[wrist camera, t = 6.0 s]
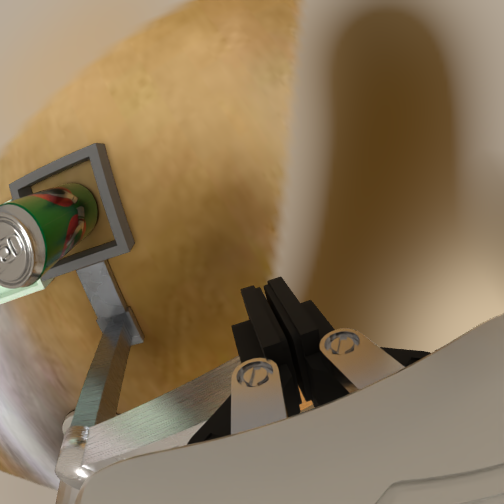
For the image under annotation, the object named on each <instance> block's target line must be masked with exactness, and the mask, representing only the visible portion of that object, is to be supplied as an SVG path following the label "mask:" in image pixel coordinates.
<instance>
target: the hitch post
mask: <svg viewBox="0 0 504 504" xmlns="http://www.w3.org/2000/svg"><path fill="white" fill-rule="evenodd" d="M76 271H77V274H78V276H79V278H80V281H81V283H82V285H83V288H84V290H85V292H86V294H87V296H88V298H89V301H90V303H91V305H92V307H93V309H94V311H95V313H96V315H97V317H98V318H97V320H96V321H97V323H98V325H99V327H100V329H101V331H102V333H103V335H102V338H101V340H100V343H99V345H98V348H97V350H96V353H95V356H94V358H93V361H92V363H91V366H90V369H89V372H88V374H87V377H86V380H85V383H84V386H83V388H82V391H81V394H80V397H79V400H78V403H77V406H76V409H75V413H74V416H73V419H72V422H71V426H85V427H89V428H90V427H92V426H95V425H97V424H99V423H102V422H104V421H107V420H109V419H111V418H114V417H115V416H116V411H117V405H118V400H119V395H120V391H121V386H122V381H123V377H124V372H125V368H126V364H127V359H128V355H129V351H130V347H131V345H135V344H139V343H143V342H144V335H143V333H142V331H141V329H140V327H139V324H138V322H137V320H136V318H135V316H134V314H133V312H132V309H131V307H127V305H126V303H125V301H124V298H123V296H122V294H121V292H120V289H119V287H118V285H117V282H116V280H115V277H114V275H113V273H112V270H111V268H110V265H109V263H108V260H107V259H106V260H103V261H100V262H97V263H94V264H91V265H88V266H85V267H82V268H79V269H77V270H76ZM71 426H70V427H71Z"/></svg>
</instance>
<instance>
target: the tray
mask: <svg viewBox="0 0 504 504" xmlns="http://www.w3.org/2000/svg"><path fill="white" fill-rule="evenodd" d="M10 201H13V199H11V200H9V201H7V202H10ZM7 202H5V203H7ZM53 279H54V277H53V278H50V279H48V280H45V281H43V280H42V278H40V279H39V280H38V281H37V282H35V283H34V284H33V285H30V286H28V287H19V288H15V289H9V288H5V287H2V286H0V304H2V303H5V302H8V301H11V300H14V299H16V298H19V297H22V296H25V295H28V294H31V293H34V292H36V291H39V290H42V289H45V288H46V287H47V285H48V284H49V283H50V282H51V281H52V280H53Z"/></svg>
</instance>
